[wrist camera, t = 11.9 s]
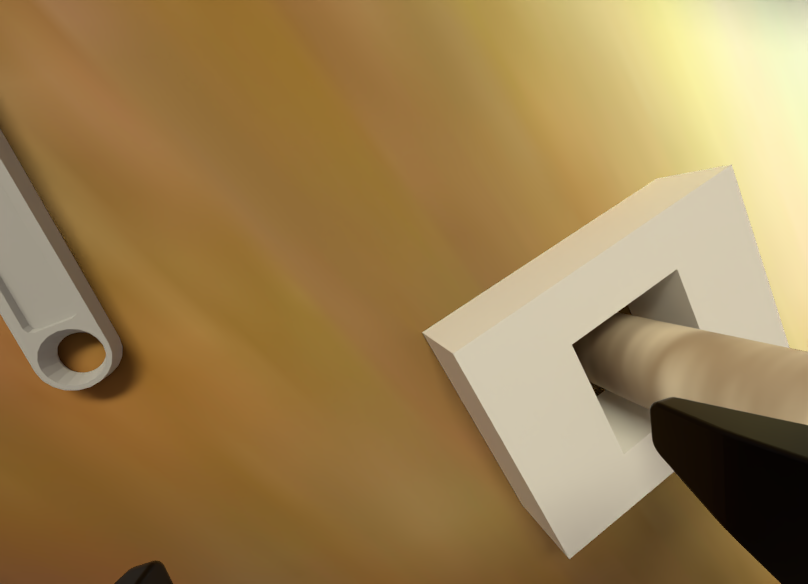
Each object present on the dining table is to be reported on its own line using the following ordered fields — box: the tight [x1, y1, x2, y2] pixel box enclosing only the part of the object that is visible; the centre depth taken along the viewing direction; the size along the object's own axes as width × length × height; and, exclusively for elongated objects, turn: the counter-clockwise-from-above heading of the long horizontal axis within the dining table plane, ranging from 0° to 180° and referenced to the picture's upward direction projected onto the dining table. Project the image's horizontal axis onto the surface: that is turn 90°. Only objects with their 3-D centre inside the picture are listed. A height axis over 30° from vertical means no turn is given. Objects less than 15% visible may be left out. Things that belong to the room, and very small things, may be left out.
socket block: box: [422, 165, 789, 559], centre depth 20 cm, size 16×12×4 cm
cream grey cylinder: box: [572, 312, 808, 425], centre depth 16 cm, size 4×4×13 cm
